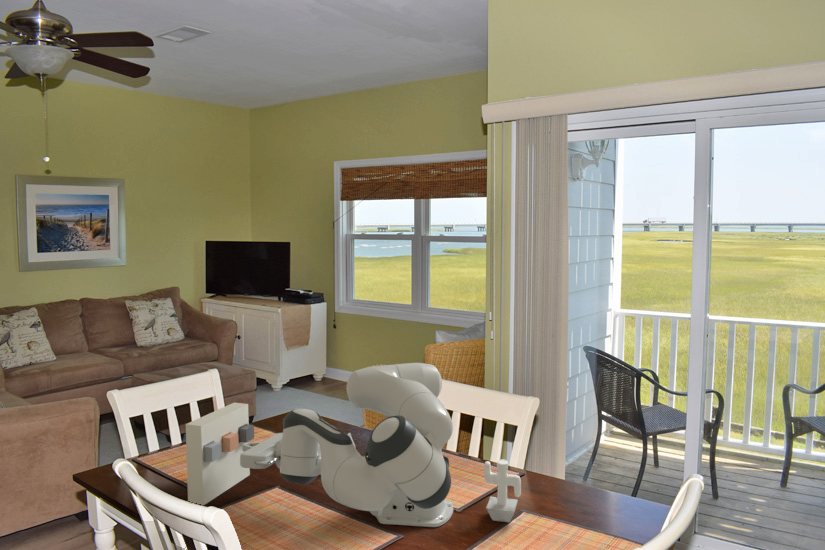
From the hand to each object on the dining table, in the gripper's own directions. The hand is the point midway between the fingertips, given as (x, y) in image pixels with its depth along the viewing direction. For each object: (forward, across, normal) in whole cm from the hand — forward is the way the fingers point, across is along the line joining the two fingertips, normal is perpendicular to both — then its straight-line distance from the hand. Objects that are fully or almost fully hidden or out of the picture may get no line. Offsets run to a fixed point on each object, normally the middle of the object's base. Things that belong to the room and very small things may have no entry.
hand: (245, 446), depth 174 cm
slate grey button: (+6, -7, -2) cm, 10 cm away
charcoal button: (+6, +9, -1) cm, 11 cm away
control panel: (+9, +2, -14) cm, 17 cm away
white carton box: (-18, +27, -13) cm, 35 cm away
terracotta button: (+6, +1, -2) cm, 7 cm away
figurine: (-71, +9, -13) cm, 73 cm away
